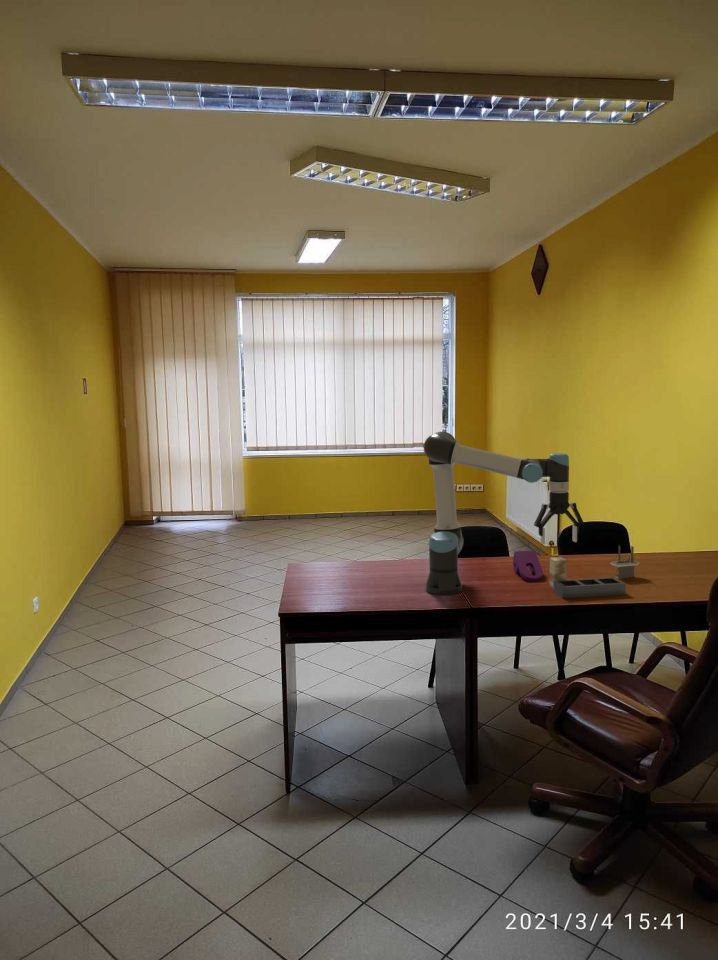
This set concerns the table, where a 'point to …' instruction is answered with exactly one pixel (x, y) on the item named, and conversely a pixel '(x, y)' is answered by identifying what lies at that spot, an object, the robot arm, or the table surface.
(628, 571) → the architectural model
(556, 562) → the peg
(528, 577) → the mounting bracket
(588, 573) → the table surface
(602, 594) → the dark grey long frame
